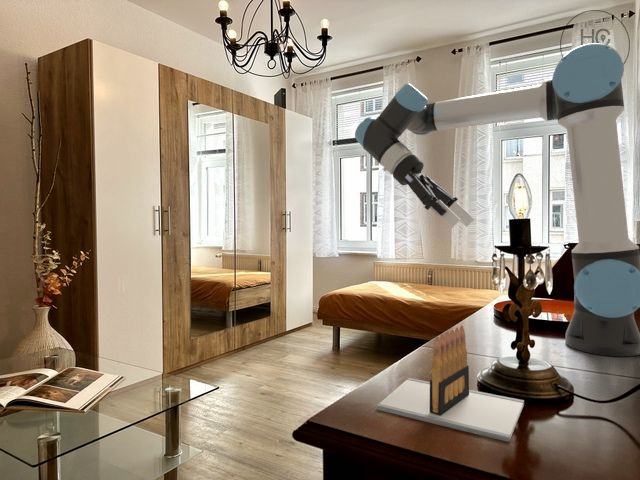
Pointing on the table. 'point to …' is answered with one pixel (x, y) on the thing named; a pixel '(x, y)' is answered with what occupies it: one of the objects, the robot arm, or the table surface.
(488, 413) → the white flat rectangular board
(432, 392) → the ammunition clip
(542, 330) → the table surface
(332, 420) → the table surface
